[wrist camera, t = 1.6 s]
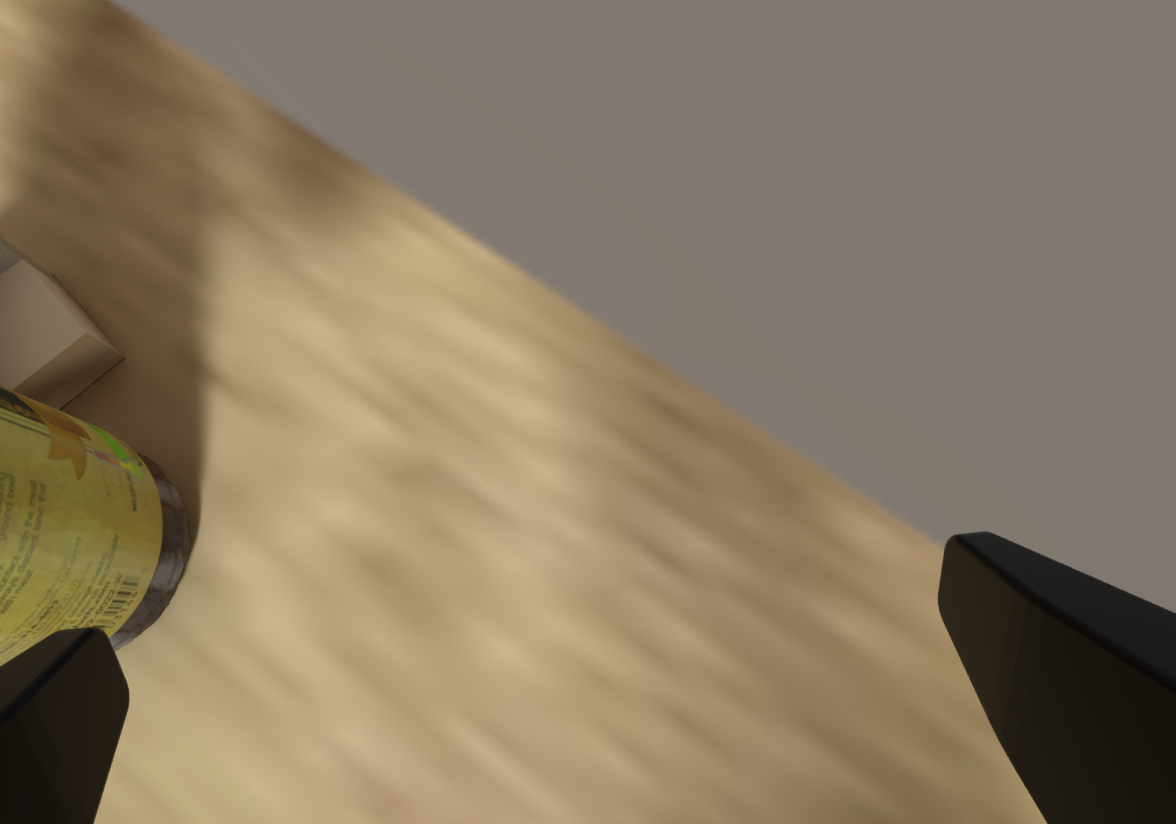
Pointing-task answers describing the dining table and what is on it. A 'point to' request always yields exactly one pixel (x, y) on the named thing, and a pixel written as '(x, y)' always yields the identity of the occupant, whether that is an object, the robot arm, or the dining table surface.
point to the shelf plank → (48, 339)
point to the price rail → (17, 259)
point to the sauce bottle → (81, 530)
